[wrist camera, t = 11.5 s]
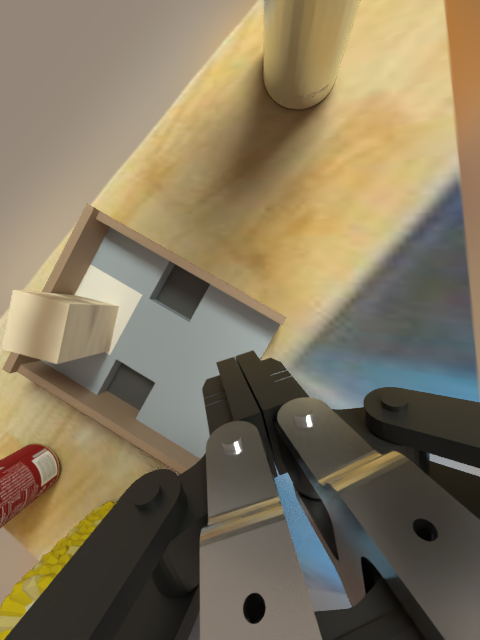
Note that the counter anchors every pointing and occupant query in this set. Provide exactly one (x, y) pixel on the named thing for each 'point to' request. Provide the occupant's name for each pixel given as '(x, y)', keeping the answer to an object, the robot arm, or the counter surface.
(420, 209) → the counter surface
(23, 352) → the birch block
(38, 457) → the soda can
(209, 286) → the tray
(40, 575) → the food
